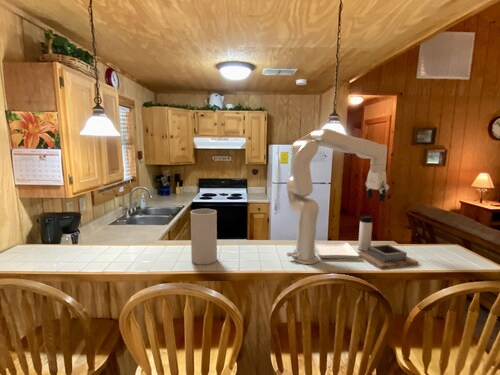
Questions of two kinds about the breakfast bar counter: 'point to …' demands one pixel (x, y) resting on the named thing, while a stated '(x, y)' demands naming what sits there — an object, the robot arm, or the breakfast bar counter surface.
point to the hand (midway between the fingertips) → (375, 199)
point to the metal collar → (391, 251)
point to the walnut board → (383, 265)
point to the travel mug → (365, 232)
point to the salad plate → (335, 250)
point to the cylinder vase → (204, 236)
